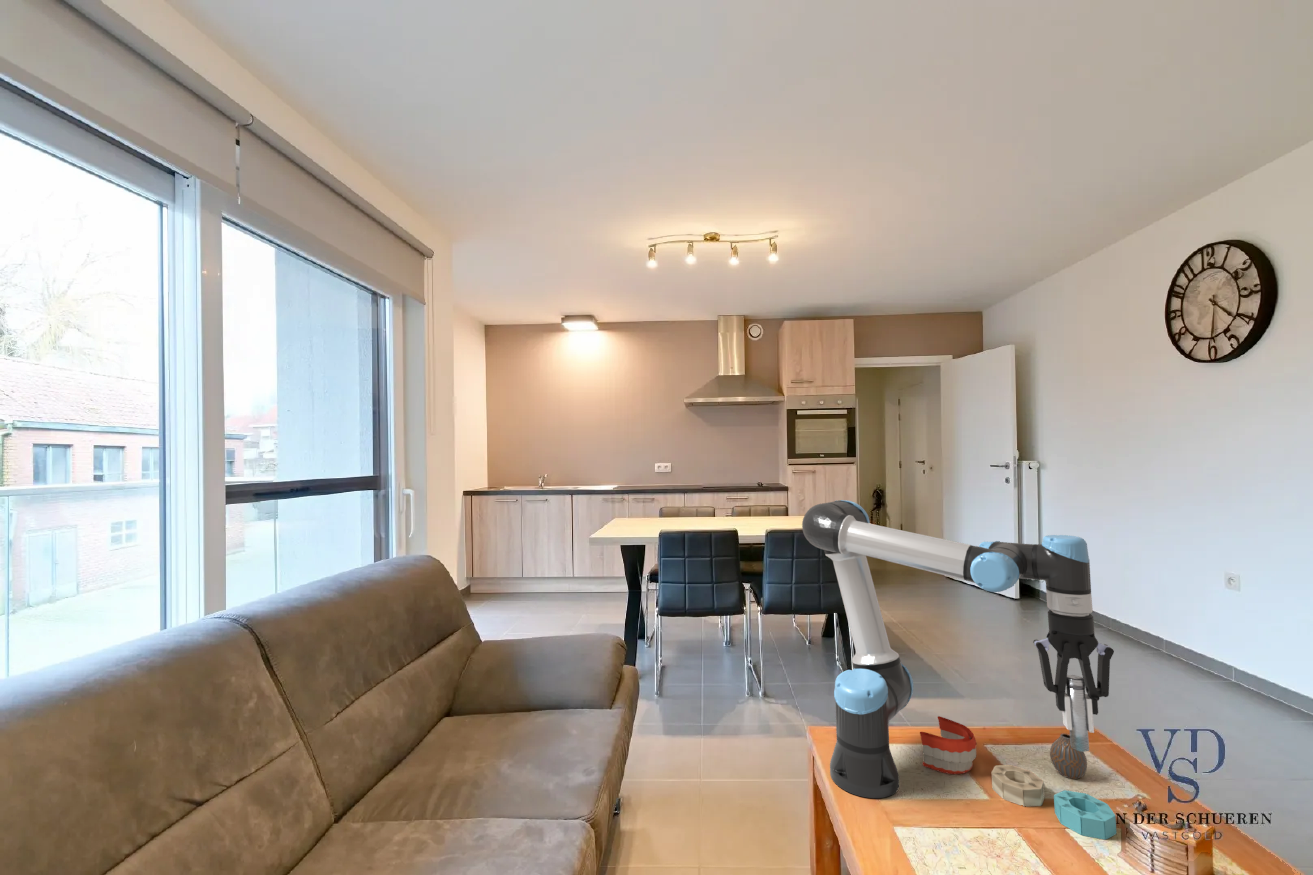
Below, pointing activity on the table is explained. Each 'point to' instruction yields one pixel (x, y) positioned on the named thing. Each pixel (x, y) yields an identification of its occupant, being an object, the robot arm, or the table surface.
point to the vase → (1067, 758)
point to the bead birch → (1018, 785)
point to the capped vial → (1078, 713)
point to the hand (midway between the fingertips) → (1078, 727)
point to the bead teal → (1085, 814)
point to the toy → (949, 748)
